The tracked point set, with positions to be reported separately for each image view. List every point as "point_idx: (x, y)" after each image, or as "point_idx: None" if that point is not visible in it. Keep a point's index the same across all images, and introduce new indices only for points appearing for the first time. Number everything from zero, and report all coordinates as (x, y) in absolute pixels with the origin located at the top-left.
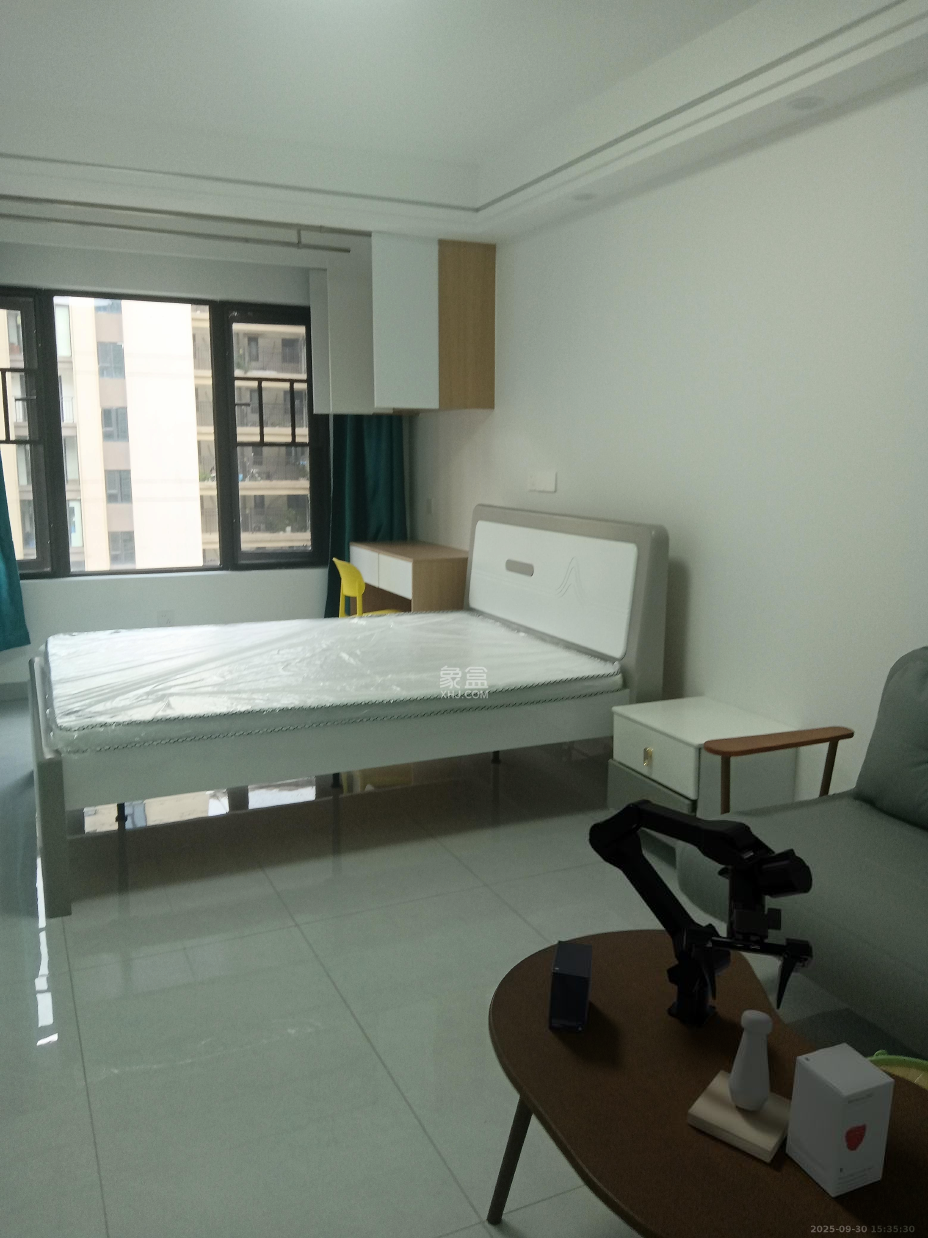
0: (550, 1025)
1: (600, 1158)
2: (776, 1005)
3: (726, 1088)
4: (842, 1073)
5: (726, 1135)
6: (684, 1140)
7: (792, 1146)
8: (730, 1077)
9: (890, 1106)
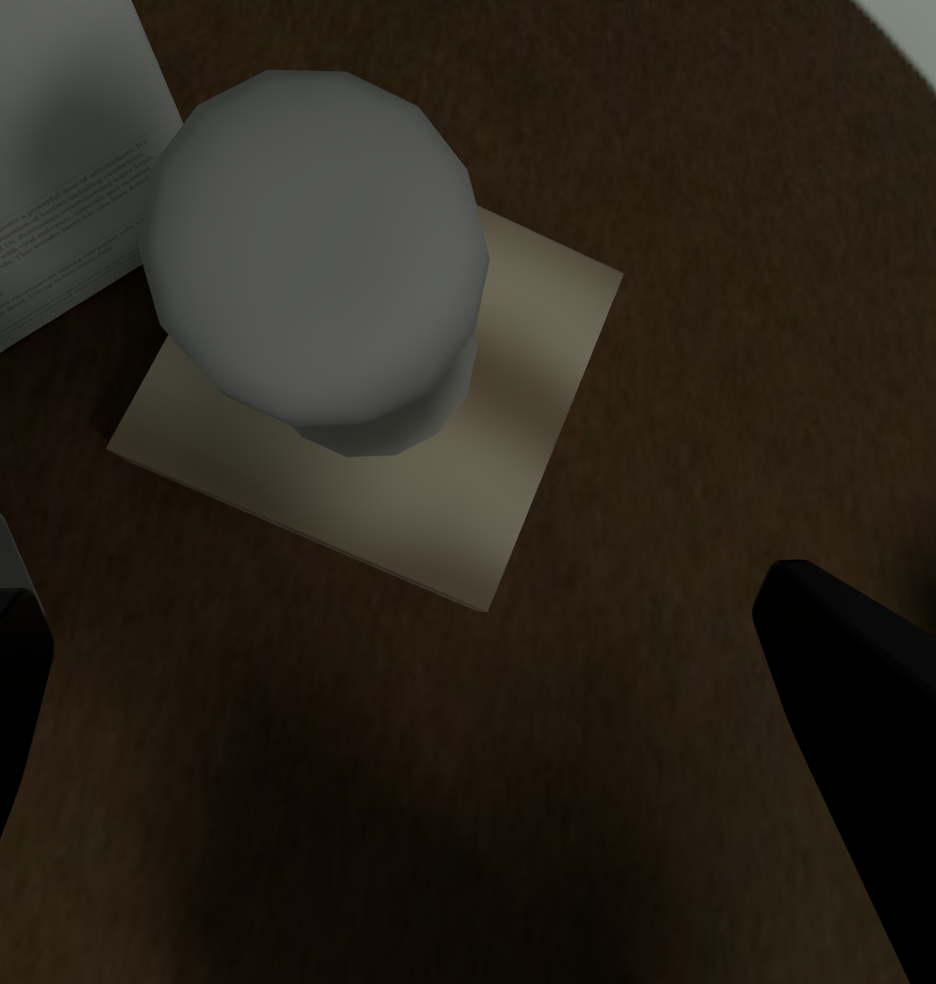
0: None
1: (863, 68)
2: (28, 650)
3: (462, 474)
4: None
5: None
6: (608, 205)
7: None
8: (472, 335)
9: None
